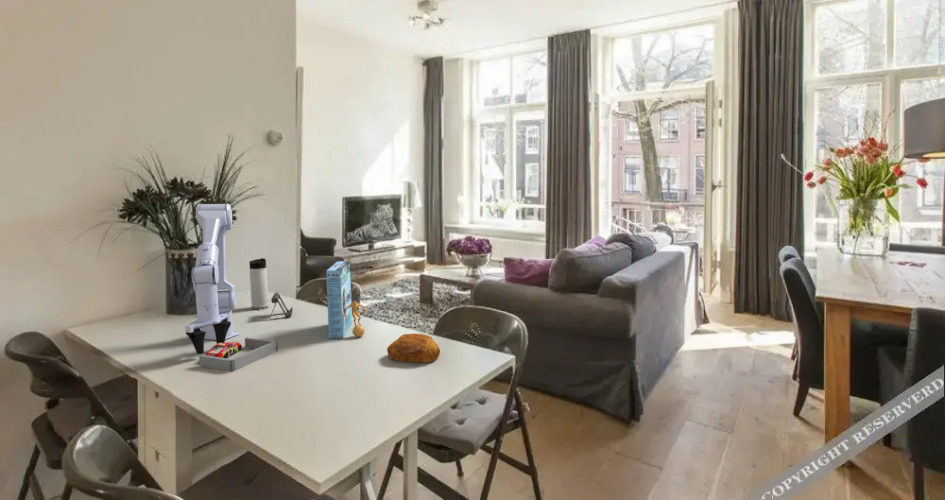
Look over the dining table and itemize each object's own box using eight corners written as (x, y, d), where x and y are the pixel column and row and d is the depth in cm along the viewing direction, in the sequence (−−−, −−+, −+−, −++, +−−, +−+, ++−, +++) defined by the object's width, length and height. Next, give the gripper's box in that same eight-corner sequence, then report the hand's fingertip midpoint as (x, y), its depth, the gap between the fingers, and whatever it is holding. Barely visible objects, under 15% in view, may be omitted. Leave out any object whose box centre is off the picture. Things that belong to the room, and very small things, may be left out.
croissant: (429, 375, 142) (432, 348, 140) (379, 361, 146) (382, 335, 145) (447, 356, 156) (450, 332, 154) (401, 344, 160) (404, 321, 158)
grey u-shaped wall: (200, 366, 141) (199, 356, 141) (247, 346, 158) (247, 337, 158) (232, 371, 138) (231, 360, 137) (277, 350, 154) (277, 341, 154)
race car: (228, 348, 157) (228, 335, 157) (245, 349, 157) (244, 336, 156) (201, 363, 144) (200, 349, 144) (219, 364, 144) (218, 350, 143)
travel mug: (272, 306, 207) (270, 258, 205) (260, 310, 201) (258, 261, 199) (260, 305, 210) (257, 257, 207) (248, 309, 203) (245, 260, 201)
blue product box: (343, 338, 167) (341, 270, 163) (327, 339, 166) (325, 270, 163) (352, 322, 186) (350, 260, 183) (338, 322, 185) (336, 261, 182)
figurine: (349, 340, 164) (348, 304, 163) (341, 336, 169) (340, 301, 167) (372, 335, 170) (371, 301, 168) (364, 331, 174) (363, 297, 173)
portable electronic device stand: (291, 318, 191) (290, 296, 189) (268, 319, 188) (267, 298, 187) (292, 312, 199) (291, 291, 198) (271, 313, 197) (270, 292, 196)
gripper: (197, 312, 141) (200, 358, 143) (236, 300, 155) (239, 343, 157) (178, 309, 144) (181, 355, 145) (218, 298, 157) (221, 340, 159)
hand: (210, 349), depth 151 cm, fingers open, 7 cm apart
